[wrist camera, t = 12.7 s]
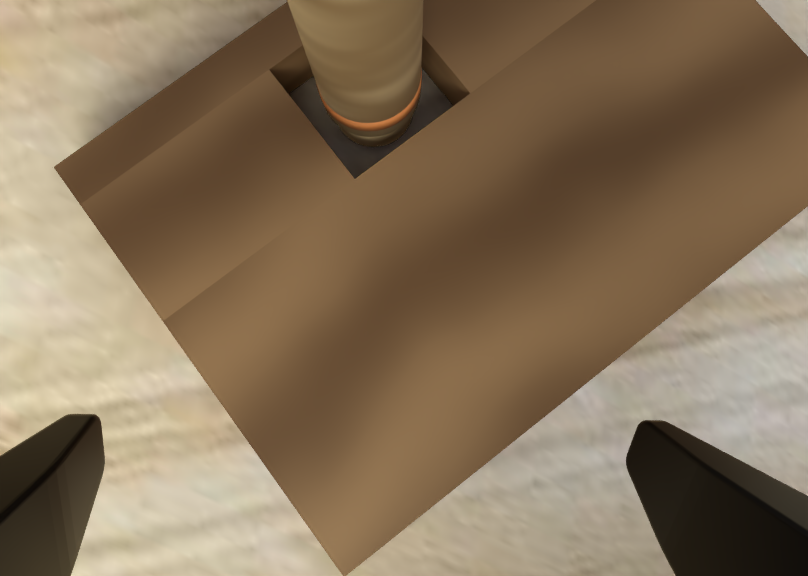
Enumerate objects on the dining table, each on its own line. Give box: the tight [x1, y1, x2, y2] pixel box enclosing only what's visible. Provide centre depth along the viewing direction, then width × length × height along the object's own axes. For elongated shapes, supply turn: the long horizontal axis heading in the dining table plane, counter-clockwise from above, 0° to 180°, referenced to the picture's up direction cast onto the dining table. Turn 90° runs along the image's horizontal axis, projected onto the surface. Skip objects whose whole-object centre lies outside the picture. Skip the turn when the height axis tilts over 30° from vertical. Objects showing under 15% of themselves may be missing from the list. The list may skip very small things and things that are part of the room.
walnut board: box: [54, 0, 808, 576], centre depth 19 cm, size 16×22×2 cm
